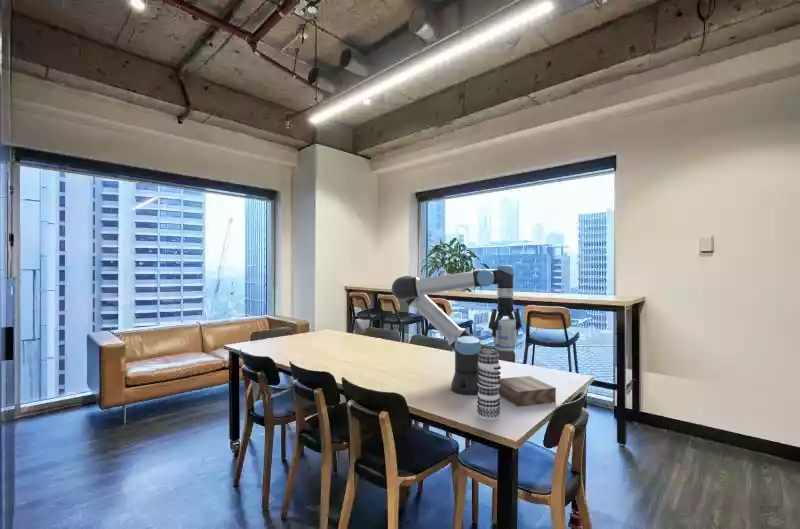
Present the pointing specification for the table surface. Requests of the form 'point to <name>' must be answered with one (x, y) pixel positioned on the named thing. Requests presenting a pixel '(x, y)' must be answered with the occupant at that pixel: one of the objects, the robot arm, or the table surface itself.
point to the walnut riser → (526, 391)
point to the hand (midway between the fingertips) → (505, 342)
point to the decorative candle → (488, 384)
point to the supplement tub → (506, 334)
